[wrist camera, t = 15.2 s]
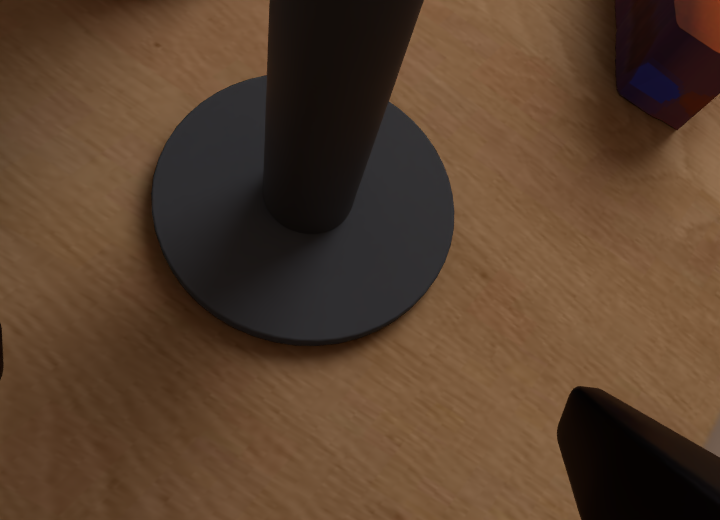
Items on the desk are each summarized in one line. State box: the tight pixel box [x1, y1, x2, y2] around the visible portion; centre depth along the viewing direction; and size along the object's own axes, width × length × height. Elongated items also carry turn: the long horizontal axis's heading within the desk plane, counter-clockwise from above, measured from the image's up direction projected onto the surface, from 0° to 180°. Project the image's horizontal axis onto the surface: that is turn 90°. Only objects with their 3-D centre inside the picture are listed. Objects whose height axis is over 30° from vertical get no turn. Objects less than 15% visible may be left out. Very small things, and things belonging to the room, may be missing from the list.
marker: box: [263, 0, 424, 234], centre depth 13 cm, size 3×3×13 cm
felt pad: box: [151, 75, 454, 346], centre depth 19 cm, size 10×10×1 cm
